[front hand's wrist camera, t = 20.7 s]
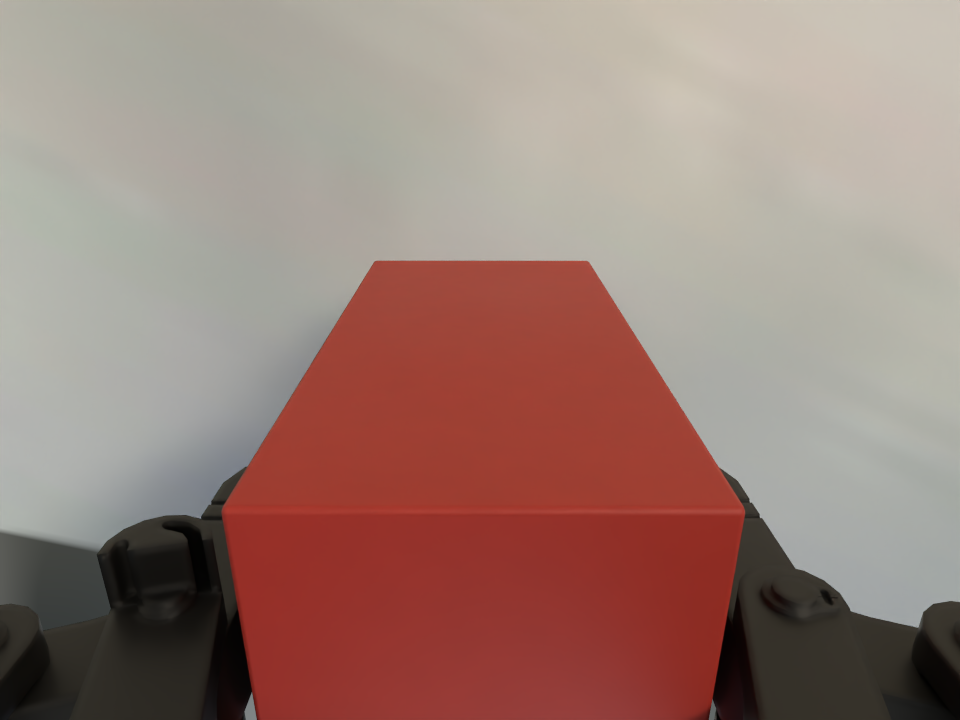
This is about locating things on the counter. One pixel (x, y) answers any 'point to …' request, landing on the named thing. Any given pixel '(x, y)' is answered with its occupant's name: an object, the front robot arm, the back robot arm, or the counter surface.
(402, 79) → the counter surface
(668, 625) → the block
